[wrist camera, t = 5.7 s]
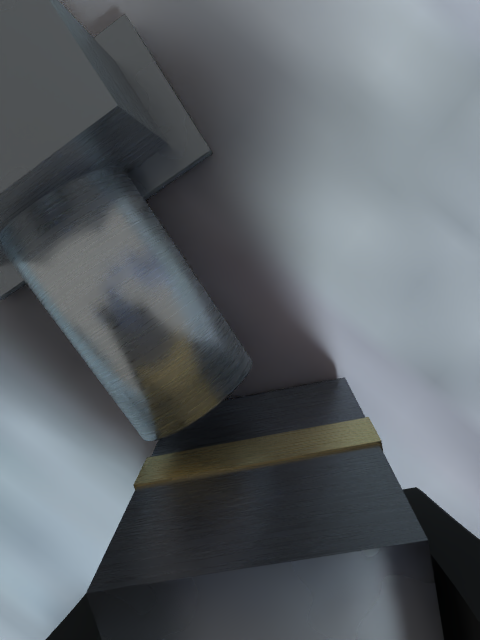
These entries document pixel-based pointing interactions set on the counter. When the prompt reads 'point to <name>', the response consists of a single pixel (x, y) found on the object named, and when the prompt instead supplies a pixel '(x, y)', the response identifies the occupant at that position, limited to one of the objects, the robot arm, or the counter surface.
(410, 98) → the counter surface
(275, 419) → the block
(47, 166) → the shaft
